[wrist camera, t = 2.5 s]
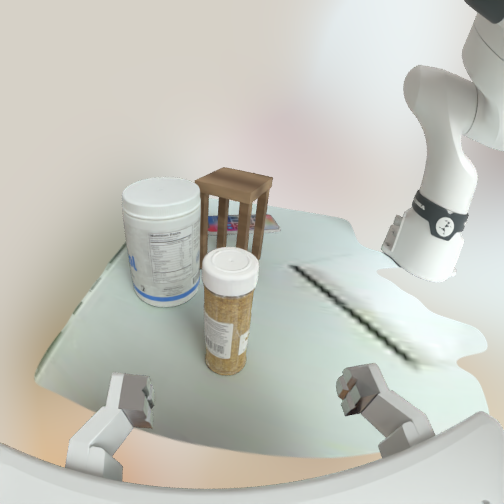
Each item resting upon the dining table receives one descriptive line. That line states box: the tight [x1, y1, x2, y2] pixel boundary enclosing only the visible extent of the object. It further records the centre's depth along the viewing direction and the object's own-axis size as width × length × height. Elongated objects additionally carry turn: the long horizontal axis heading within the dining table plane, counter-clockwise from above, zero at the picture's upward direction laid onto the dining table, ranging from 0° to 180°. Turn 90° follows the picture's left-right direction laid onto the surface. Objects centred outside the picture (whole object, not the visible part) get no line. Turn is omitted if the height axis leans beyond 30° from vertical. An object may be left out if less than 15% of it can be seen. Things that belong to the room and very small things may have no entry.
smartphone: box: [208, 214, 281, 235], centre depth 57 cm, size 7×1×15 cm
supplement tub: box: [122, 177, 201, 307], centre depth 35 cm, size 10×10×15 cm
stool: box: [195, 167, 273, 269], centre depth 41 cm, size 8×8×14 cm
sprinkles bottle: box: [202, 247, 259, 375], centre depth 26 cm, size 5×5×14 cm
